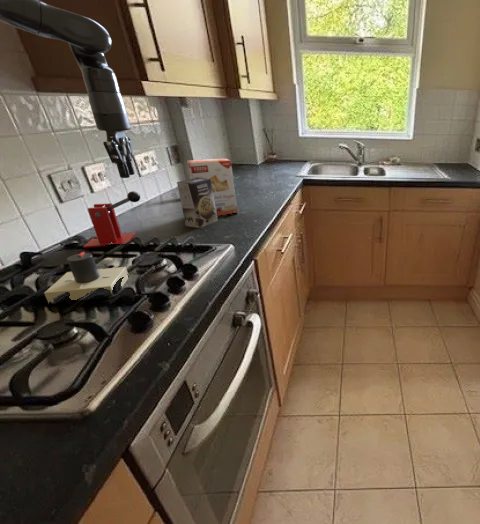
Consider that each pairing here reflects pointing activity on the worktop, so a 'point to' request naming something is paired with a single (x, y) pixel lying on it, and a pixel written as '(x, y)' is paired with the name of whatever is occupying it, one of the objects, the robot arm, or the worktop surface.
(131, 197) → the lever
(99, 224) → the red lever stand
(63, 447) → the worktop surface
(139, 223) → the worktop surface
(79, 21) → the robot arm
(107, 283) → the panel
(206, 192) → the coffee box
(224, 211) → the cracker box
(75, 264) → the knob
